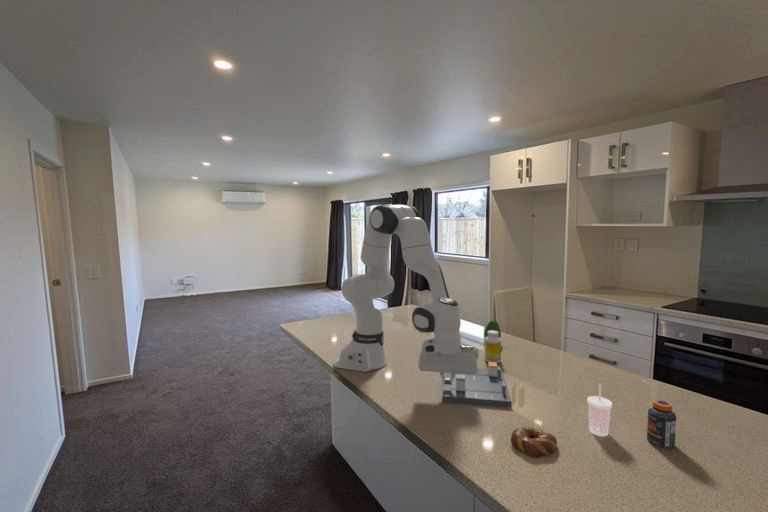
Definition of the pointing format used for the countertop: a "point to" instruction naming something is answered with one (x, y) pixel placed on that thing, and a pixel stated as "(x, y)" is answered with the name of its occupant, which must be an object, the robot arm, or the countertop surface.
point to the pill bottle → (661, 425)
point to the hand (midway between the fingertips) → (447, 383)
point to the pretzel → (533, 441)
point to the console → (479, 389)
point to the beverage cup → (599, 414)
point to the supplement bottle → (492, 347)
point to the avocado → (492, 328)
